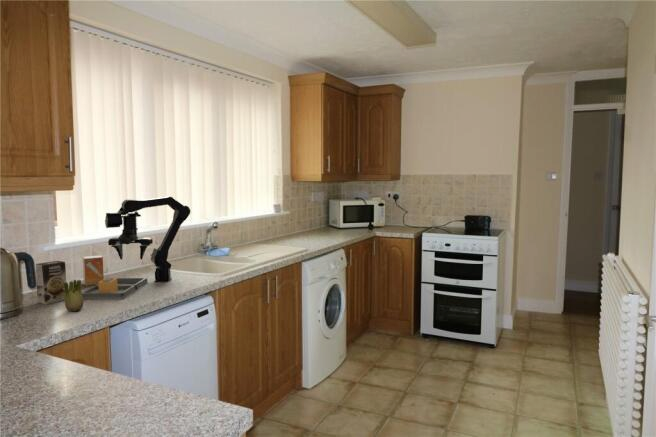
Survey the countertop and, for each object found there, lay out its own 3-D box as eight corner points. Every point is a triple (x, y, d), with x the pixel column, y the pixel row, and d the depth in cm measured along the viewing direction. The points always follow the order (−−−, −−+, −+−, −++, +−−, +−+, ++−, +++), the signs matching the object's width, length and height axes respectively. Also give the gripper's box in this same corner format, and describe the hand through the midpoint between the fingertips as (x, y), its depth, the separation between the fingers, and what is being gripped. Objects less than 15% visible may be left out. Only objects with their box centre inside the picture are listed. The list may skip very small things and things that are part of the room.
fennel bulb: (64, 313, 179) (62, 281, 177) (68, 309, 183) (66, 279, 182) (81, 312, 180) (79, 281, 179) (84, 308, 185) (83, 278, 184)
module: (117, 290, 208) (117, 277, 207) (110, 294, 201) (110, 281, 201) (106, 290, 208) (105, 277, 207) (99, 294, 201) (98, 281, 200)
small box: (85, 286, 220) (83, 258, 219) (83, 283, 226) (82, 256, 224) (104, 283, 225) (102, 256, 223) (102, 281, 230) (100, 254, 229)
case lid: (136, 290, 213) (136, 284, 213) (123, 299, 198) (122, 293, 198) (96, 290, 212) (95, 284, 212) (79, 299, 197) (79, 293, 197)
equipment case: (147, 282, 227) (147, 277, 226) (136, 290, 213) (136, 284, 213) (109, 283, 226) (109, 277, 226) (96, 290, 212) (95, 284, 212)
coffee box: (45, 304, 190) (42, 265, 188) (37, 302, 193) (34, 263, 191) (67, 299, 197) (65, 261, 196) (59, 297, 201) (57, 260, 199)
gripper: (102, 228, 213) (103, 262, 214) (143, 228, 213) (145, 262, 215) (112, 225, 224) (114, 258, 225) (152, 225, 224) (153, 258, 226)
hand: (131, 259), depth 222 cm, fingers open, 9 cm apart
